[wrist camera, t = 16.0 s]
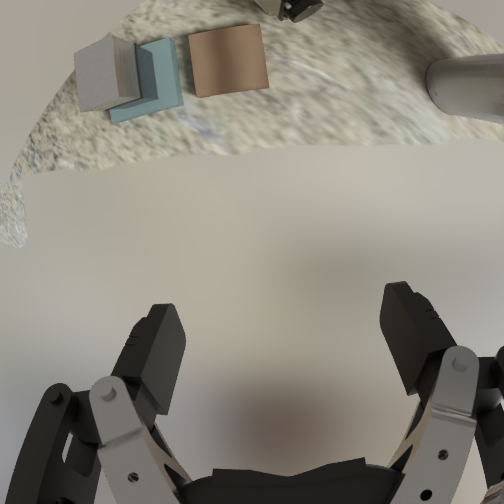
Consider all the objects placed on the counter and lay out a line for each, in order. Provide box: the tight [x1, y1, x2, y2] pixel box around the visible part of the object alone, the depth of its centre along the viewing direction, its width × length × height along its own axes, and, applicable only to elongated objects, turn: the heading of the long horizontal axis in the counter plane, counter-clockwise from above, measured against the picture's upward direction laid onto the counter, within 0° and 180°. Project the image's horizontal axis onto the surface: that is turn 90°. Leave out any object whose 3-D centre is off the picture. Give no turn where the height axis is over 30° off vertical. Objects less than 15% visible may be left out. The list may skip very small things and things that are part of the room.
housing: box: [74, 35, 158, 112], centre depth 24 cm, size 5×7×11 cm
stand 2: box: [188, 24, 269, 98], centre depth 29 cm, size 9×9×2 cm
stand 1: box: [110, 37, 184, 124], centre depth 30 cm, size 10×10×2 cm
